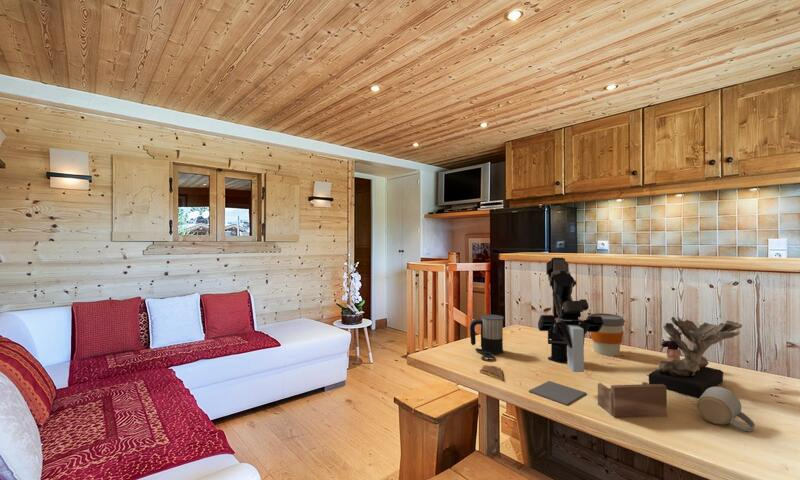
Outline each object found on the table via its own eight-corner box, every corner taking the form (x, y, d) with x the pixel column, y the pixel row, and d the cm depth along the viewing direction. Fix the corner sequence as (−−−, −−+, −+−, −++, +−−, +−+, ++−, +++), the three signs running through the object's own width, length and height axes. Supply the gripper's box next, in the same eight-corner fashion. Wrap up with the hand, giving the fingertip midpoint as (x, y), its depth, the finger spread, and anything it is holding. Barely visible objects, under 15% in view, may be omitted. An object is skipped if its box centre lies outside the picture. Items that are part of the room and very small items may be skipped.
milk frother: (498, 347, 158) (498, 313, 158) (514, 359, 142) (514, 321, 142) (467, 349, 156) (466, 315, 156) (479, 361, 140) (479, 323, 140)
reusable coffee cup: (626, 351, 150) (626, 315, 150) (621, 359, 141) (620, 321, 141) (593, 346, 159) (593, 312, 159) (585, 353, 149) (585, 316, 149)
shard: (502, 382, 121) (502, 377, 121) (479, 381, 122) (479, 375, 122) (501, 371, 131) (501, 366, 131) (479, 369, 133) (479, 364, 133)
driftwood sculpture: (677, 368, 131) (677, 309, 131) (754, 386, 114) (753, 318, 114) (646, 384, 117) (645, 317, 117) (728, 408, 100) (727, 330, 100)
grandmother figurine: (683, 365, 134) (683, 331, 134) (686, 368, 130) (686, 333, 130) (658, 362, 137) (658, 329, 137) (661, 365, 134) (660, 331, 134)
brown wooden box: (597, 404, 103) (597, 376, 103) (646, 403, 104) (645, 375, 104) (614, 417, 95) (614, 387, 95) (666, 416, 96) (666, 386, 96)
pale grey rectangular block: (567, 366, 114) (567, 325, 114) (577, 366, 114) (577, 325, 114) (573, 371, 109) (573, 328, 109) (583, 372, 109) (583, 329, 109)
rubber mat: (549, 382, 120) (549, 380, 120) (586, 393, 110) (586, 392, 110) (528, 391, 112) (528, 390, 112) (566, 405, 103) (566, 404, 103)
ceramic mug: (694, 419, 94) (695, 390, 94) (703, 410, 99) (704, 382, 99) (751, 437, 86) (751, 405, 86) (757, 426, 91) (758, 396, 91)
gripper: (540, 289, 117) (550, 333, 106) (601, 290, 115) (618, 334, 104) (533, 309, 125) (543, 351, 114) (591, 310, 122) (606, 353, 111)
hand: (577, 347), depth 110 cm, fingers closed on pale grey rectangular block, 3 cm apart
